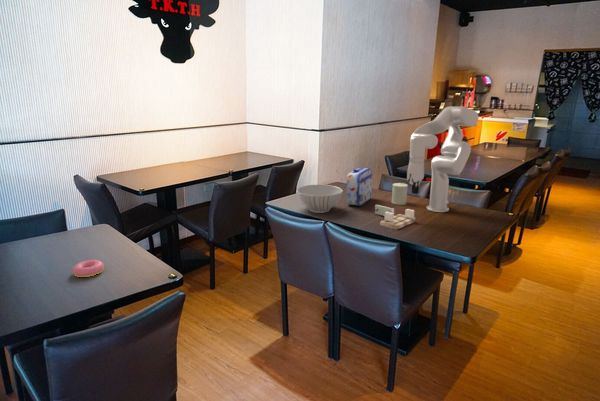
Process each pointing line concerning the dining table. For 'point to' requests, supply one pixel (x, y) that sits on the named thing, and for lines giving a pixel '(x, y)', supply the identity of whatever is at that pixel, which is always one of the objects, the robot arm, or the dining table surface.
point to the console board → (397, 222)
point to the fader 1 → (389, 216)
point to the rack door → (382, 210)
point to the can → (399, 193)
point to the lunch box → (359, 186)
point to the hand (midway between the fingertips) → (415, 193)
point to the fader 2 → (409, 213)
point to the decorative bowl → (319, 197)
